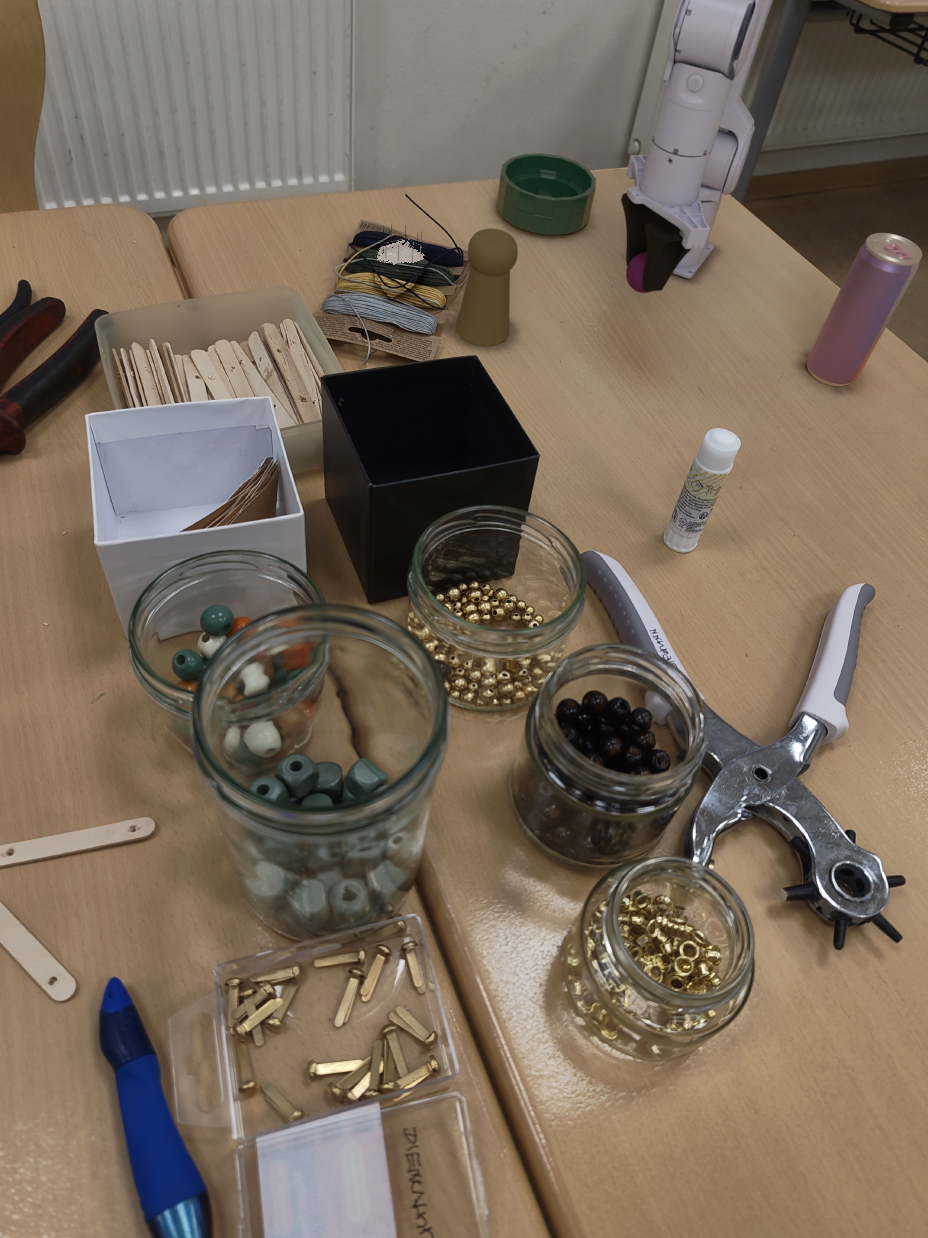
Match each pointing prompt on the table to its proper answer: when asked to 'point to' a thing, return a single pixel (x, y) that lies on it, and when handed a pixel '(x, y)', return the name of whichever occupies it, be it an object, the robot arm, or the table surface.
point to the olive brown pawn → (487, 288)
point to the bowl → (545, 193)
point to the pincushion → (399, 251)
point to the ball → (636, 272)
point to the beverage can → (863, 308)
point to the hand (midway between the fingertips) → (644, 277)
